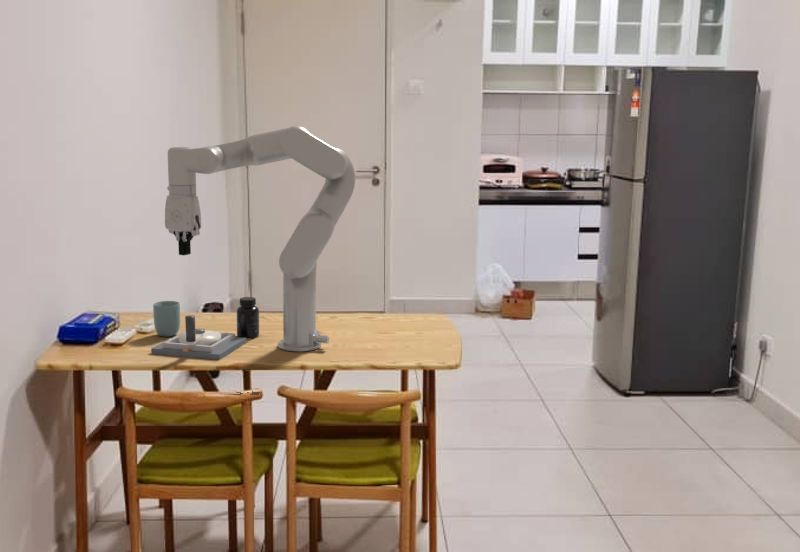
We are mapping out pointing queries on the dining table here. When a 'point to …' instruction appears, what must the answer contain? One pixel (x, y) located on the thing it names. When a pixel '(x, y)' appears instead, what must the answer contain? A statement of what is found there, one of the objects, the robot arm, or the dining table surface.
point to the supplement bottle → (247, 318)
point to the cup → (166, 318)
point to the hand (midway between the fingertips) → (184, 254)
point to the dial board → (200, 347)
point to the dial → (197, 334)
